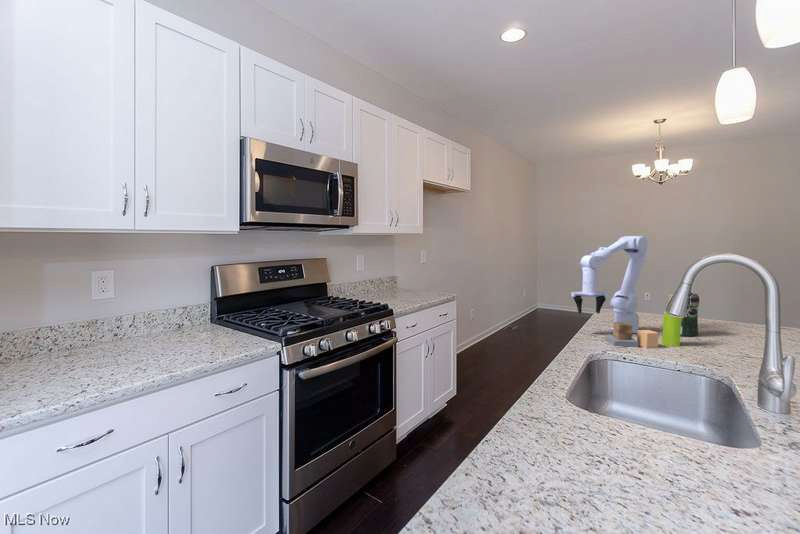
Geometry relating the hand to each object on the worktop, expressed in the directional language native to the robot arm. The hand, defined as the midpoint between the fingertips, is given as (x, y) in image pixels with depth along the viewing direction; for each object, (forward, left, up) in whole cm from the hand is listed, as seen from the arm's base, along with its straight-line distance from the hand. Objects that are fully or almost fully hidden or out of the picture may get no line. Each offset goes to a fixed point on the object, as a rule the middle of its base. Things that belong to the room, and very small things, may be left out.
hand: (588, 312), depth 170 cm
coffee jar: (-42, -4, -10) cm, 43 cm away
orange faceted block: (-17, +16, -10) cm, 25 cm away
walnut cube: (-8, +14, -7) cm, 18 cm away
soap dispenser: (-28, +12, -10) cm, 32 cm away
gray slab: (-8, +14, -10) cm, 19 cm away
